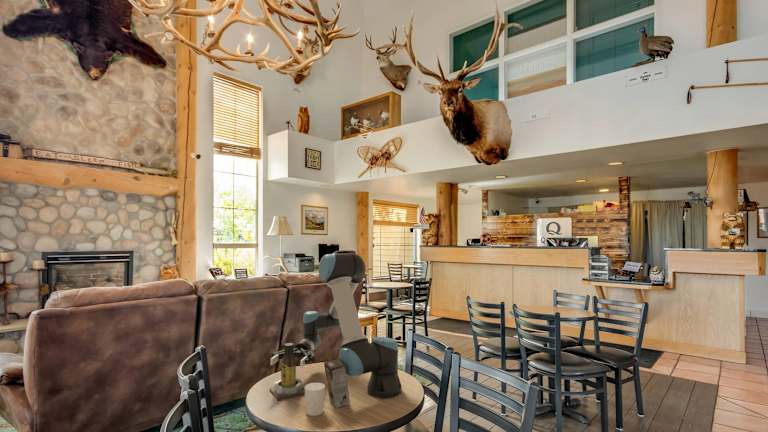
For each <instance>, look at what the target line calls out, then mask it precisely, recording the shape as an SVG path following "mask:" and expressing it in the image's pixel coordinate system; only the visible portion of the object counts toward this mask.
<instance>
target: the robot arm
mask: <svg viewBox="0 0 768 432" xmlns="http://www.w3.org/2000/svg"><path fill="white" fill-rule="evenodd" d="M366 266H367V265H366V263H365V260H364V259H363V257H362V256H360V255H359V254H357V253H353V252H348V253H347V252H346V253H344V252H343V253H329V254H324V255H323V256H322V257H321V258H320V261H319V264H318V275H319V276H318V277H319V278H320V279H321V281H325V282H326V285H327V287H329V288H330V289H331V292H332V294H331V295H332V298H333V301H332V302H331V303H332V304H331V306H330V308H329V310H328V312H327V313H322V314H319V312H318V311H314V310H309V311H305V312H304V313H303V317H302V318H303V321H302V324H303V327H302V330H303V333H302V340H300V341H298V343H297V344H295V345H294V348H293V355H294V357H295V358H297V359H300V363H299V364H300V366H299V368H303V367H304V366H305V365H306V364H308V363H311V362H312V363H314V362H316V359H315V358H316V357H315V354H314V353H315V352H314V351H315V350H317V349H318V347H319V346H320V345H321V341H322V340H321V338H320V336H319V331H320V330H326V329H331V328H332V329H333V328H339V327H340V331H341V335H342V338H343V341H342V343H341V346H340V347H341V349H340V350H339V352H338V359H339V360H340V361H341V362H342V363H343V364H344V365H345V368H346V376H347V377H357V376H362V375H364V374H368V373H370V377H369V380H368V383H367V386H366V387H367V389H366V390H367V393H368V395H370V396H372V397H374V398H377V399H378V398H379V399H389V398H395V396H396V397H398V396H400V395H401V394H402V389H403V387H402V383H401V380H400V376H399V372H398V370H399V367H398V366H399V359H398V358H399V348H398V346H399V344H398V342H397V340H395V339H394V338H391V337H384V336H374V337H372V338H371V340H370V342H369V338H368V337H367V336H366V335H364V333H363V330H362V325H361V321H360V318H359V315H358V311H357V306H356V302H355V299H354V293H355V291H356V290H357V288H358V286H359V284H361V283H362V282H363V280H364V278H365V276H366V271H367V269H366V268H367V267H366ZM284 353H285V349H282V350H278V351H275V352H272V353H271V358H270V361H269V362H270V366H274V364H276V363H277V362H279V360H282V359H283V357H284V355H285V354H284ZM399 394H400V395H399Z"/></svg>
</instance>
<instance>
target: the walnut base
mask: <svg viewBox="0 0 768 432" xmlns="http://www.w3.org/2000/svg"><path fill="white" fill-rule="evenodd" d="M269 391H270V393H271V394H272V395H273V397H274V398H275V399H276V401H279V402H280V401H283V400H288V399H294V398H297V397H303V396H305V387H304V386H302V390H301V392H299V393H297V394H293V395H279V394H276V393H275V392H274V386H271V387H269Z"/></svg>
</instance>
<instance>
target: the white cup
mask: <svg viewBox="0 0 768 432" xmlns="http://www.w3.org/2000/svg"><path fill="white" fill-rule="evenodd" d="M304 389H305V395H304V401H305V402H304V404H305V414H306V415H307V416H312V417H316V416H320V415H322V414H323V413H324V407H325V406H324V404H325V396H326V395H325V392H326V385H325V384H324V383H322V382H311V383H308V384H306V385H304Z"/></svg>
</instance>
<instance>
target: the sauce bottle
mask: <svg viewBox="0 0 768 432" xmlns="http://www.w3.org/2000/svg"><path fill="white" fill-rule="evenodd" d="M283 347H284V350H285V353H284V354H285V355H284V357H283V359H281V364H280V365H281V366H280V367H281V369H280V370H281V371H280V376H281V377H280V380H281V386H282V387H290V386H295V385H296V379H297V378H296V377H297V364H296V363H297V359H296V358H297V357H294V355H293V349H294V347H295V344H294V343H293V342H289V343H288V342H287V343H285V344H284V345H283Z"/></svg>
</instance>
